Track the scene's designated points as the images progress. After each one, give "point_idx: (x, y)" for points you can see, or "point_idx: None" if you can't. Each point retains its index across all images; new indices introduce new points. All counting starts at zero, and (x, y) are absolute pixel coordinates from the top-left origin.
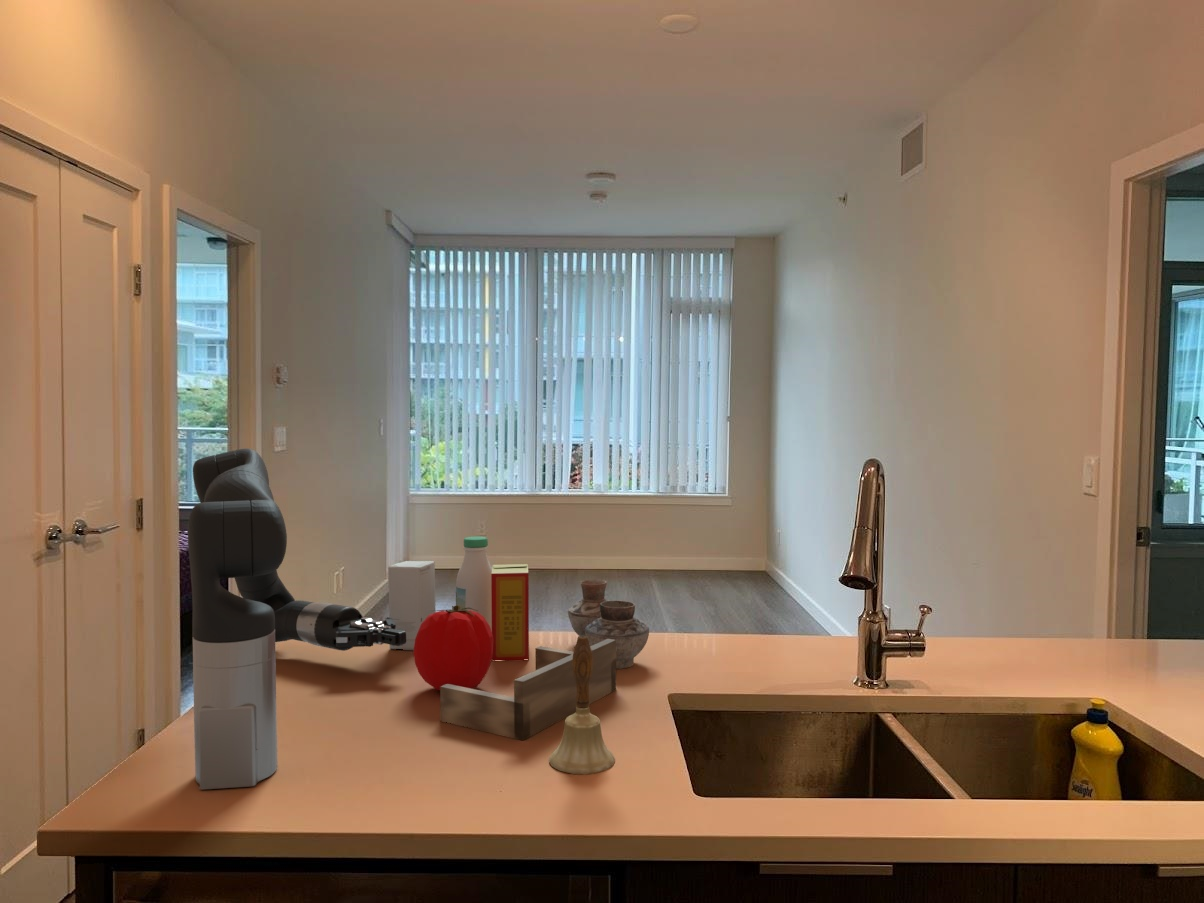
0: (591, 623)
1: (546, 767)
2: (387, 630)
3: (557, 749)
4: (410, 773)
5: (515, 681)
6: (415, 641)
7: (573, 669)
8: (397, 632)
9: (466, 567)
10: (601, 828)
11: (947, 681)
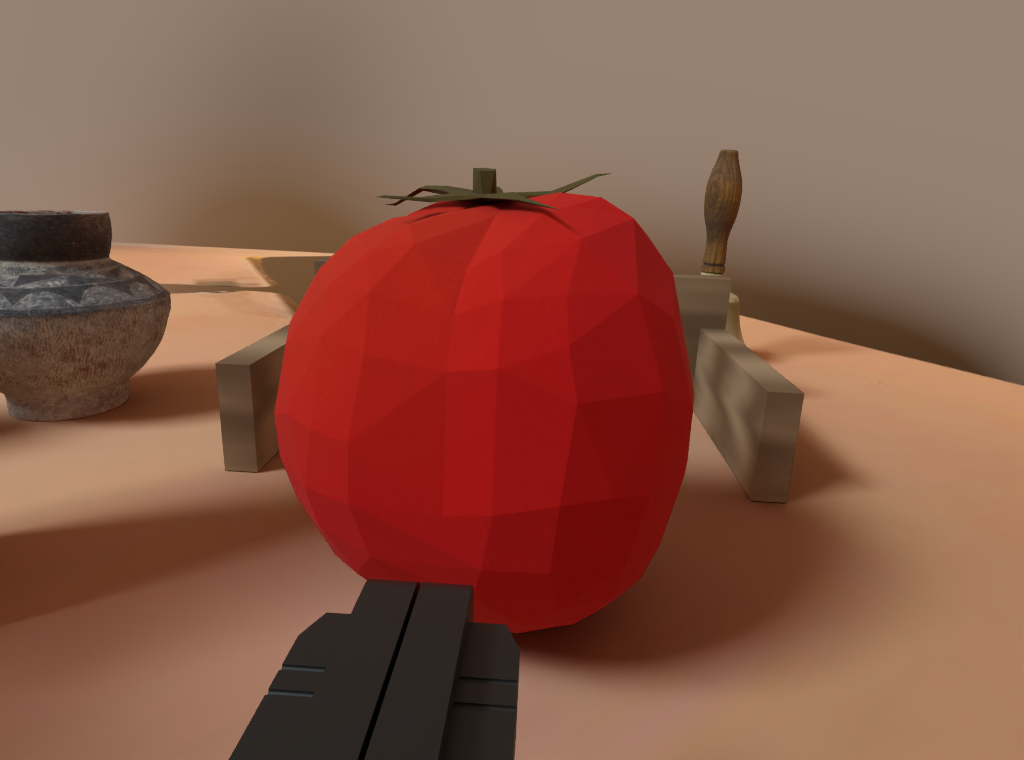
0: (37, 290)
1: None
2: (413, 744)
3: None
4: (1017, 447)
5: (730, 282)
6: (670, 401)
7: (738, 208)
8: (464, 596)
9: None
10: (826, 339)
11: (200, 274)
